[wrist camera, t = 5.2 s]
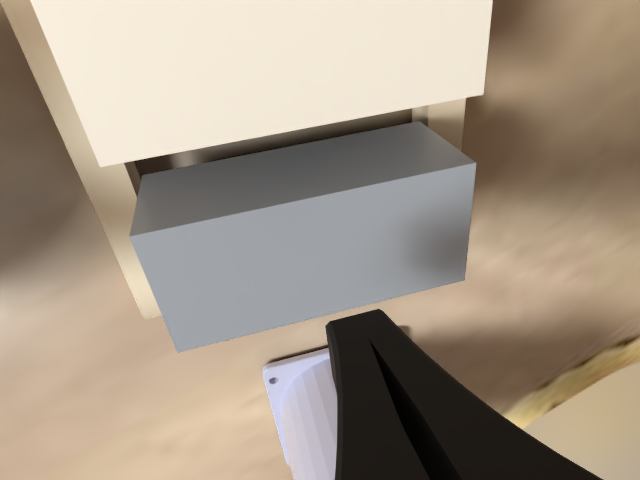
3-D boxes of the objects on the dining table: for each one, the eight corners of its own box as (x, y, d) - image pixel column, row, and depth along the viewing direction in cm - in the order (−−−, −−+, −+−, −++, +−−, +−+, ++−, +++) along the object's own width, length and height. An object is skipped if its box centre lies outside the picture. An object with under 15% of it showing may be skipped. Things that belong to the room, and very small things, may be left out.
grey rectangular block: (416, 224, 19) (464, 280, 16) (180, 278, 17) (177, 352, 14) (419, 121, 16) (476, 162, 13) (142, 175, 15) (129, 236, 12)
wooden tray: (439, 228, 22) (454, 245, 20) (147, 296, 20) (144, 319, 18) (482, -573, 10) (525, -649, 9) (-242, -606, 8) (-322, -709, 7)
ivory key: (420, 64, 15) (483, 94, 12) (121, 116, 14) (99, 167, 11) (423, -100, 13) (504, -118, 9) (58, -56, 11) (5, -60, 8)
